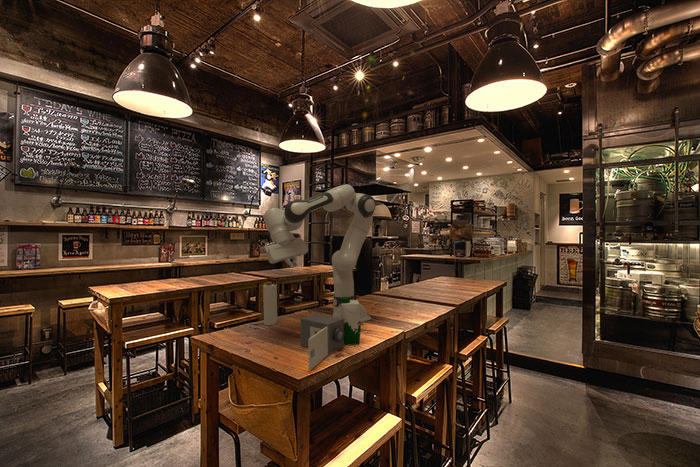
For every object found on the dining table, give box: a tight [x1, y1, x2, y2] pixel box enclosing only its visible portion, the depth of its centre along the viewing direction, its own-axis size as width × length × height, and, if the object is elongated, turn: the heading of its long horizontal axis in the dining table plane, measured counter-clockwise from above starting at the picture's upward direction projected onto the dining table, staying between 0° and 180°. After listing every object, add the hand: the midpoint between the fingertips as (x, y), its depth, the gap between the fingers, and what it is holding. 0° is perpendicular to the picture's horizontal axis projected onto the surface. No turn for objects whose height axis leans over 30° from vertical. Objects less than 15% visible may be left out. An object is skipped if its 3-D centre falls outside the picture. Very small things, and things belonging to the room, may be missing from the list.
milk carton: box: [340, 297, 362, 346], centre depth 140 cm, size 9×9×20 cm
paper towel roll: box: [262, 283, 278, 326], centre depth 169 cm, size 7×6×21 cm
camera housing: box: [300, 313, 345, 355], centre depth 134 cm, size 18×10×12 cm, turn 52°
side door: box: [307, 326, 330, 371], centre depth 118 cm, size 16×1×11 cm, turn 160°
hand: (294, 266), depth 143 cm, fingers closed
